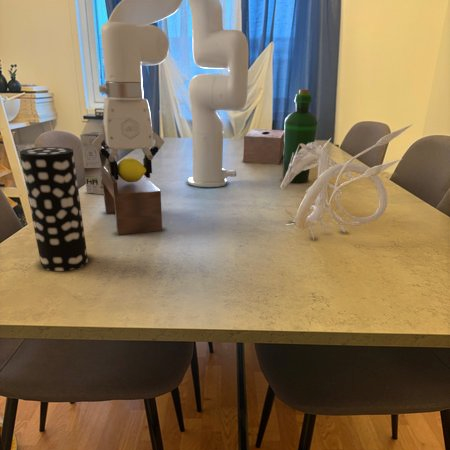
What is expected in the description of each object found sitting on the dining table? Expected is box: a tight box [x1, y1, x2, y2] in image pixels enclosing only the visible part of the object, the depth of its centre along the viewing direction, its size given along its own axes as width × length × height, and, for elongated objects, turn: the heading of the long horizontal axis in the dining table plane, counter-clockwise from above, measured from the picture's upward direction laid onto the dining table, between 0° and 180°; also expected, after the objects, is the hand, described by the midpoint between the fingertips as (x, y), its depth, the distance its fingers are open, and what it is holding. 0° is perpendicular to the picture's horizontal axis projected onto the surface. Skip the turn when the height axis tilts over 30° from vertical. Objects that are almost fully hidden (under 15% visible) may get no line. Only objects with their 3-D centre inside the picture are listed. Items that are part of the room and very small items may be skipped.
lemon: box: [117, 157, 146, 182], centre depth 99 cm, size 7×5×5 cm
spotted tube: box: [19, 146, 89, 272], centre depth 76 cm, size 8×8×20 cm
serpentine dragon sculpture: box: [279, 123, 413, 241], centre depth 93 cm, size 45×21×26 cm, turn 4°
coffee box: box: [79, 131, 117, 195], centre depth 125 cm, size 9×6×16 cm
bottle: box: [282, 88, 319, 184], centre depth 140 cm, size 11×11×28 cm
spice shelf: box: [101, 166, 163, 236], centre depth 101 cm, size 10×18×11 cm, turn 22°
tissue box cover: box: [242, 128, 284, 165], centre depth 183 cm, size 26×14×10 cm, turn 169°
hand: (131, 177), depth 99 cm, fingers closed on lemon, 6 cm apart
